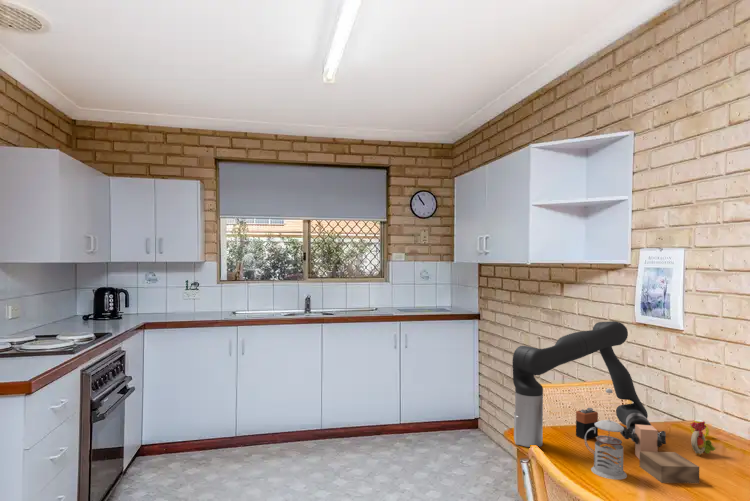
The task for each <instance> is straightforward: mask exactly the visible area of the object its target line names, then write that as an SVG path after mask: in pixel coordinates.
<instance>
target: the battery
mask: <svg viewBox="0 0 750 501" xmlns="http://www.w3.org/2000/svg"><path fill="white" fill-rule="evenodd" d="M598 421H599V413H598V412H597V411H595V410H594V408H592V407H587V408H586V409H580V410H576V412H575V436H576V437H578V438H581V439H582V440H585V438H584V437H585V434H586V432H587V431H588V430H589V429H590V428H593V427H594V428H593V429H595V428H596V433H594V430H590V431H589V432H588V433H587V435H586V440H590V439H594V438H595V439H596V437H597V436H599V435H598V432H599V428H597V427H595V424H594V423H596V422H598Z"/></svg>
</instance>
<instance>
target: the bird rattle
mask: <svg viewBox="0 0 750 501" xmlns="http://www.w3.org/2000/svg"><path fill="white" fill-rule="evenodd" d="M692 422H693V421H692ZM692 422H691V423H690V425H691V426H692V427H693V429H694V432H693V433H692V434H691V438H690V444H691V448H692V450H693V452H694V453H695V455H696V456H701V455H702V454H703V453H704V452H705V454H710V453H711V451H712V452H715V450H716V447H714V445H712V444H713V443H712V441H711V440H710V439H706V437H704V436H705V434H704V432H703V431H704V430H706V429H705V428H706V425H707V424H706V422H705V421H704V420H703V422H700V423H696V422H693V423H692ZM705 424H706V425H705Z"/></svg>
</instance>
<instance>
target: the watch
mask: <svg viewBox="0 0 750 501" xmlns="http://www.w3.org/2000/svg"><path fill="white" fill-rule="evenodd" d="M703 421H704V420H701V419H694V421H691V423H693V422H695V423H700V422H703ZM705 425H706V428H705V429H704V430H705V434H704V437H705V438H707V437H708V435H709V433H710V429H709V426H708V425H707V424H706V423H705ZM689 428H690V429H689V430H690V432H691V433H692V434H693V432H694V430H695V429H694V428H693V427H692V426H691V425H690V426H689Z"/></svg>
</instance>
